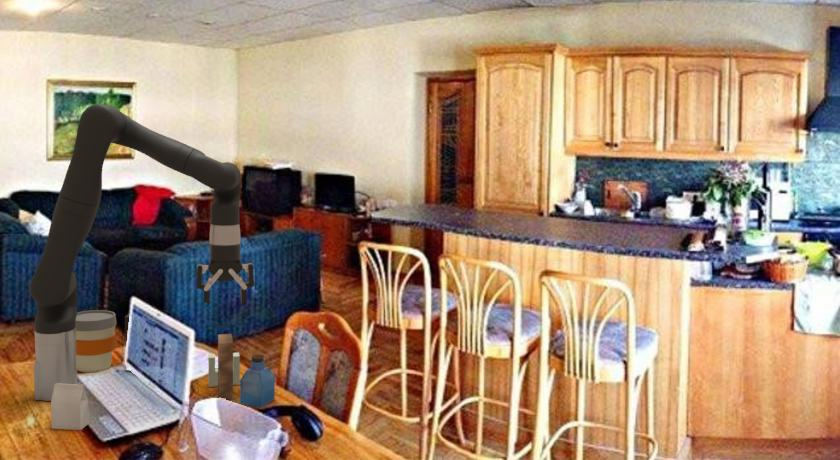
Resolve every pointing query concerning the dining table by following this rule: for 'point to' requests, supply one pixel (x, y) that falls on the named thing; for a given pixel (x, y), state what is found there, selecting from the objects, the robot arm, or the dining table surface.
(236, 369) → the slotted stand
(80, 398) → the grey box
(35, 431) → the dining table surface
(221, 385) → the walnut plate
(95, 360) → the reusable coffee cup
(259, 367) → the perfume bottle
